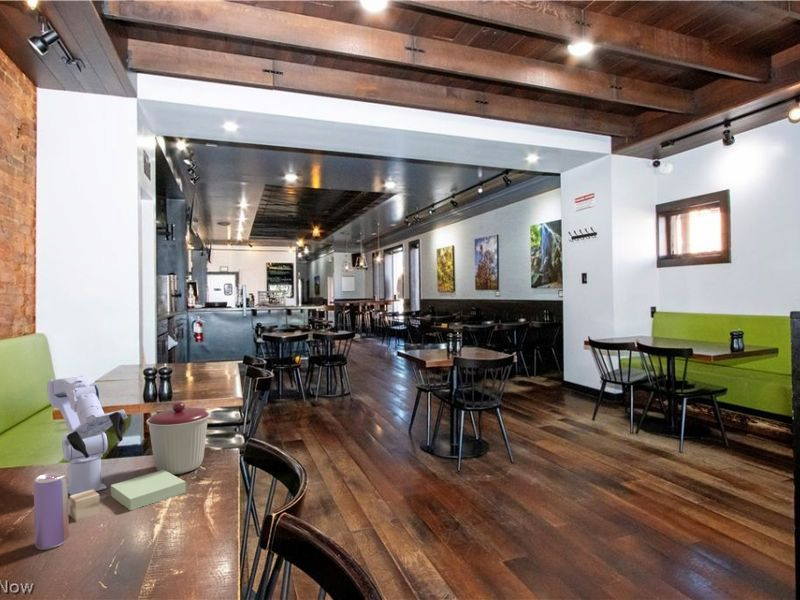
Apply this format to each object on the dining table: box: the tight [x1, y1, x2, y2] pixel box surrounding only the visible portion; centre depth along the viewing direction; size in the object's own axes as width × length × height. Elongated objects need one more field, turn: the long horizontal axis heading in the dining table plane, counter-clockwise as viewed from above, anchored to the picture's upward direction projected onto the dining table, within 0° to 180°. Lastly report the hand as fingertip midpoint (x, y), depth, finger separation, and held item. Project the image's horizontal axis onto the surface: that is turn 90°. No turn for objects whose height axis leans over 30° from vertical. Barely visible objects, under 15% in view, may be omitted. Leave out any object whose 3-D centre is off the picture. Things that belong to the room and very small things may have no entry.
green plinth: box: [110, 470, 187, 511], centre depth 126 cm, size 14×14×3 cm
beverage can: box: [33, 471, 70, 551], centre depth 101 cm, size 6×6×15 cm
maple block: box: [69, 489, 101, 522], centre depth 114 cm, size 5×5×5 cm
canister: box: [145, 401, 211, 476], centre depth 144 cm, size 18×18×21 cm
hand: (103, 446), depth 114 cm, fingers open, 7 cm apart
